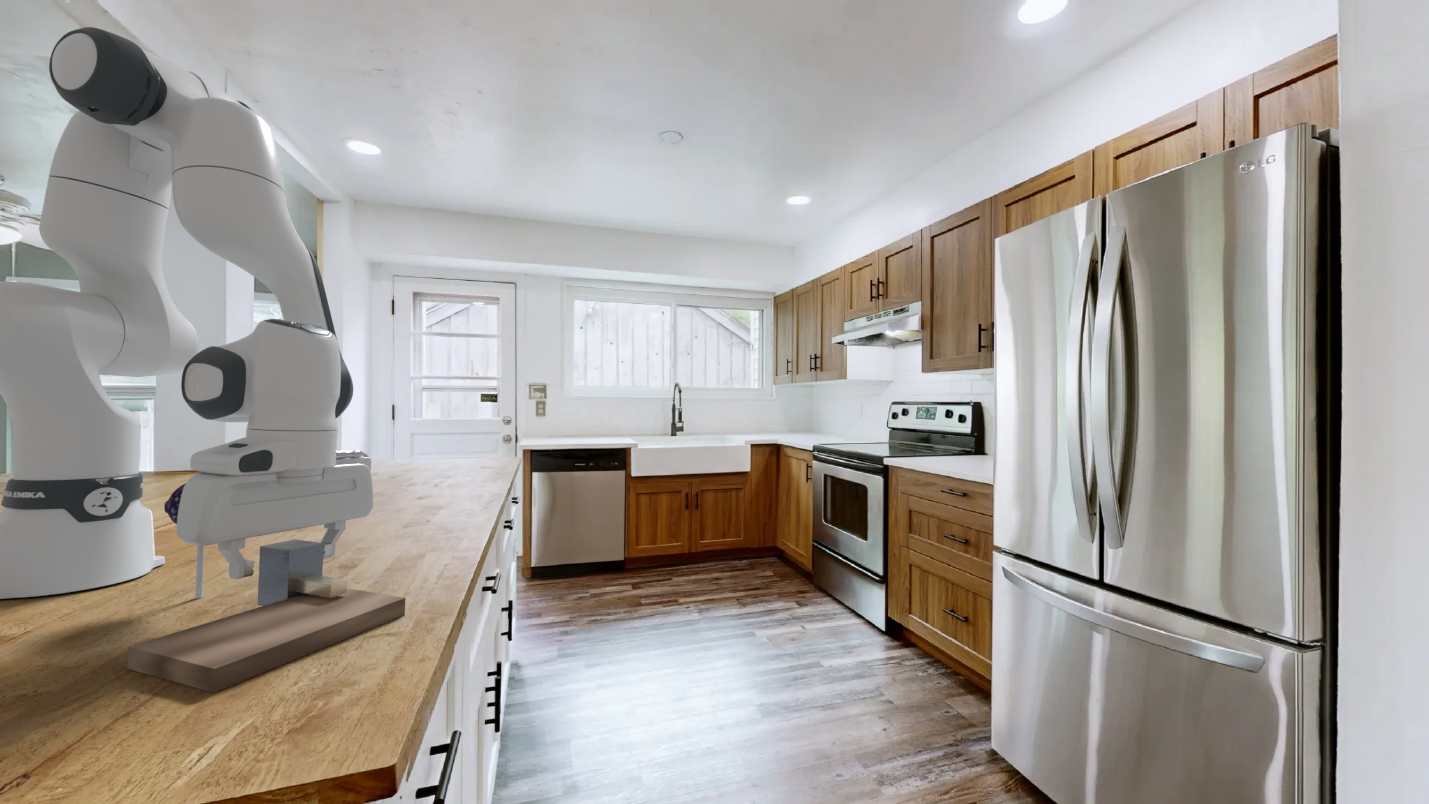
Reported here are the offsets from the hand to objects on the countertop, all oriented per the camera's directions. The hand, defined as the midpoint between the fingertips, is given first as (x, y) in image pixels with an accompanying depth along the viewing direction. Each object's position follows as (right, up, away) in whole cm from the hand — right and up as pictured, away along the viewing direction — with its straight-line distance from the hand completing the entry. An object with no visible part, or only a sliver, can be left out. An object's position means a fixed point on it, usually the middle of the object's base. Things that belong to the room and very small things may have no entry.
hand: (285, 566), depth 65 cm
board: (+7, -5, -9) cm, 12 cm away
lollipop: (-13, -5, +2) cm, 14 cm away
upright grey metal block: (+3, -4, -1) cm, 5 cm away
